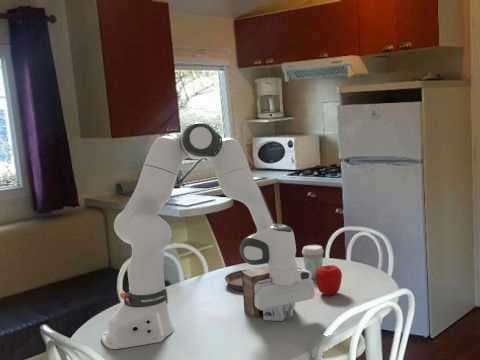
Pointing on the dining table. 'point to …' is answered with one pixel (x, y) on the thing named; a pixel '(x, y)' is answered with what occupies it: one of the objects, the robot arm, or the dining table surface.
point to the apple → (328, 279)
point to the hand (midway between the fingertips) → (286, 317)
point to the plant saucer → (235, 280)
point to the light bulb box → (274, 313)
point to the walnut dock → (252, 288)
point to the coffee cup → (312, 258)
